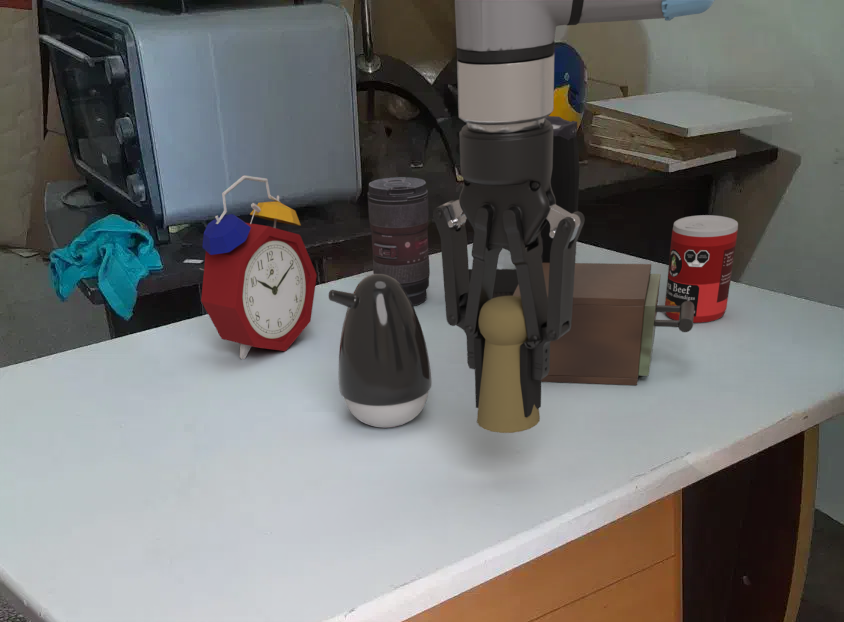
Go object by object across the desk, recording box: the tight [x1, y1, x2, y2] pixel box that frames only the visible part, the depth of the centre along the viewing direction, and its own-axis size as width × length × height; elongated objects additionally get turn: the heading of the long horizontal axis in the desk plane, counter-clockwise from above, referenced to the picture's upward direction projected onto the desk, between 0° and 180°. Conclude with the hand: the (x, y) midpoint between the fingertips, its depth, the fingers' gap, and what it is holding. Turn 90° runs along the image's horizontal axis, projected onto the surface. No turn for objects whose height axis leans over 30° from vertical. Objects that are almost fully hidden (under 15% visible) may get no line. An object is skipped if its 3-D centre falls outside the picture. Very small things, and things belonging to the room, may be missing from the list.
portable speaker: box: [540, 115, 581, 263], centre depth 143 cm, size 9×9×20 cm
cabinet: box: [513, 262, 652, 386], centre depth 120 cm, size 15×13×10 cm
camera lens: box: [367, 176, 431, 307], centre depth 139 cm, size 8×8×15 cm
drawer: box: [638, 273, 694, 377], centre depth 119 cm, size 18×11×8 cm, turn 77°
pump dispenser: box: [328, 274, 433, 429], centre depth 108 cm, size 10×10×15 cm
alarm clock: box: [198, 174, 318, 361], centre depth 126 cm, size 15×9×20 cm, turn 143°
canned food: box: [664, 214, 739, 324], centre depth 130 cm, size 8×8×11 cm
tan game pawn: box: [476, 296, 541, 434], centre depth 93 cm, size 6×6×11 cm
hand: (508, 406), depth 96 cm, fingers closed on tan game pawn, 4 cm apart
